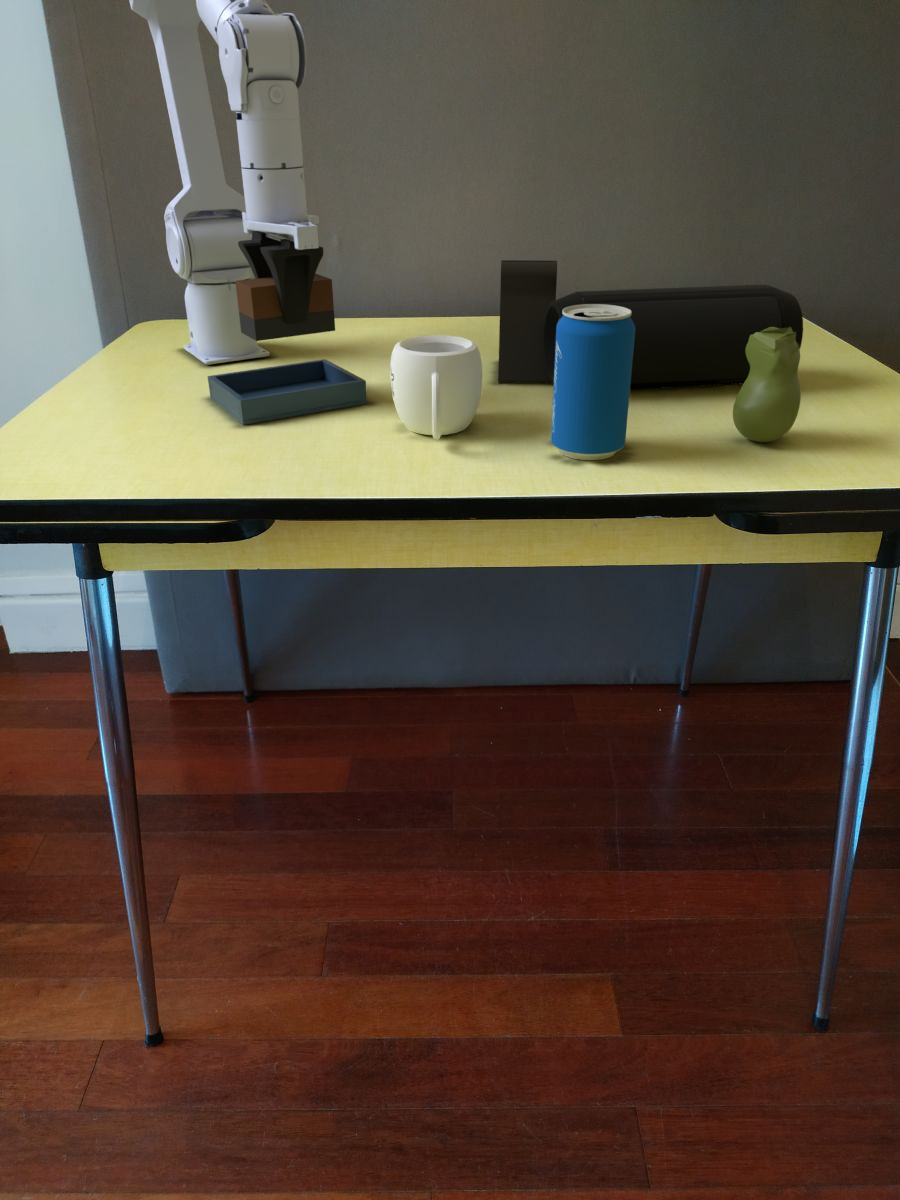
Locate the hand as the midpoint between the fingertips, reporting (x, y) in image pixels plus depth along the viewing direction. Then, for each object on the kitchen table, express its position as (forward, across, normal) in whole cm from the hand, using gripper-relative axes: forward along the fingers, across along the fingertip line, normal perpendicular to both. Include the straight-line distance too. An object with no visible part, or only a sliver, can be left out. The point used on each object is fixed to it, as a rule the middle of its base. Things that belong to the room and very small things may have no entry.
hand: (286, 317), depth 91 cm
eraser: (+1, 0, 0) cm, 1 cm away
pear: (+8, -35, -31) cm, 47 cm away
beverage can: (+8, -29, -16) cm, 34 cm away
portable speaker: (+8, -17, -36) cm, 41 cm away
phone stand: (+8, -5, -26) cm, 28 cm away
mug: (+8, -18, -7) cm, 21 cm away
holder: (+8, -1, +1) cm, 8 cm away
